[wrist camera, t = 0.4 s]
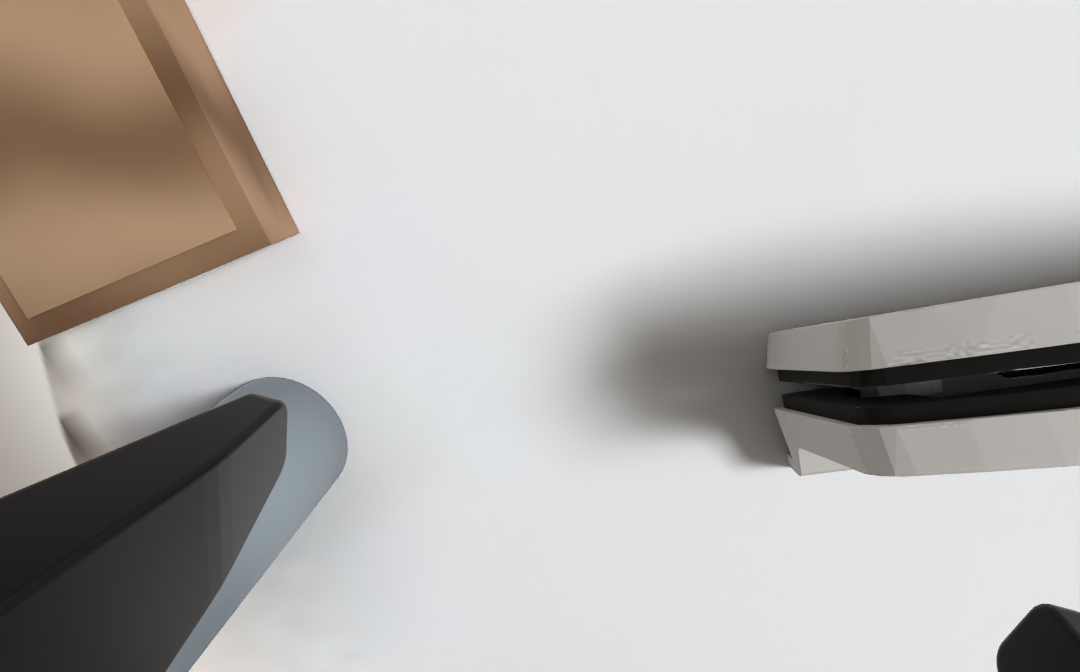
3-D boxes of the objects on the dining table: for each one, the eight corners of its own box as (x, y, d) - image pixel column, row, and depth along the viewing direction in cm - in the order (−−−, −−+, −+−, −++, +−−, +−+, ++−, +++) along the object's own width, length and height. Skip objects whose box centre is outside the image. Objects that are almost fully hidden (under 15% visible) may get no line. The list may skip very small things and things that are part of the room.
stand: (299, 232, 23) (267, 245, 21) (71, 327, 26) (22, 347, 23) (145, -78, 21) (92, -98, 19) (-92, 58, 23) (-164, 54, 21)
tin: (294, 520, 27) (57, 819, 16) (194, 433, 26) (-131, 681, 15) (375, 444, 26) (176, 715, 14) (271, 348, 25) (-26, 555, 14)
